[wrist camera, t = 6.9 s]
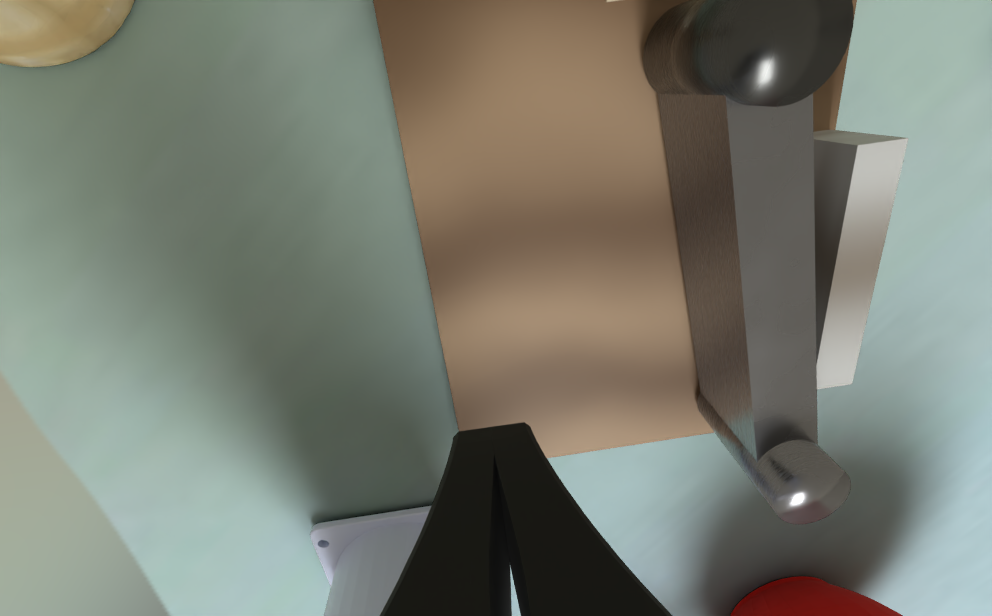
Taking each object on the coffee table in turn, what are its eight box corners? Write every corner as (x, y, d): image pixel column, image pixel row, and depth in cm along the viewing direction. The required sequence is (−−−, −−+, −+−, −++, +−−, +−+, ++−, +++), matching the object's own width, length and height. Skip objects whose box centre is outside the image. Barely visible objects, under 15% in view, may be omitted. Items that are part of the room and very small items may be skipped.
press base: (766, 400, 22) (836, 471, 18) (465, 446, 22) (468, 528, 18) (834, -85, 14) (983, -153, 10) (374, -23, 14) (341, -69, 10)
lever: (759, 411, 20) (853, 511, 15) (698, 428, 20) (773, 533, 15) (725, -12, 13) (871, -66, 9) (636, 18, 14) (732, -18, 9)
